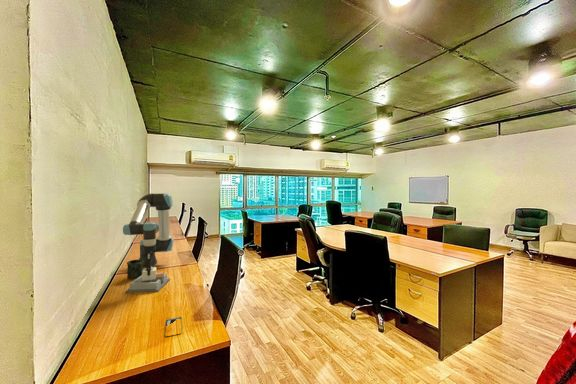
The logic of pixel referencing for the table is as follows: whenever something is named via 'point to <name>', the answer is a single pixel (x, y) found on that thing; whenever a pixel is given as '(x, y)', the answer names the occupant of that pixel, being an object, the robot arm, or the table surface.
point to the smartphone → (171, 320)
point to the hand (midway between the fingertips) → (149, 277)
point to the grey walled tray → (147, 285)
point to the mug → (134, 268)
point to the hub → (153, 274)
